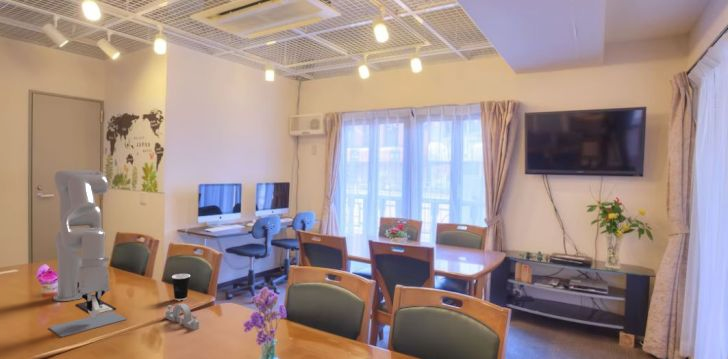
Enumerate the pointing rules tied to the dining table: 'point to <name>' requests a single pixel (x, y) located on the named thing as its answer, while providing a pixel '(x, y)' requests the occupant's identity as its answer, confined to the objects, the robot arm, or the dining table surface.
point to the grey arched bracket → (186, 311)
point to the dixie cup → (180, 286)
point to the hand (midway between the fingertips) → (93, 309)
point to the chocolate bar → (103, 306)
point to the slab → (94, 307)
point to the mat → (86, 324)
